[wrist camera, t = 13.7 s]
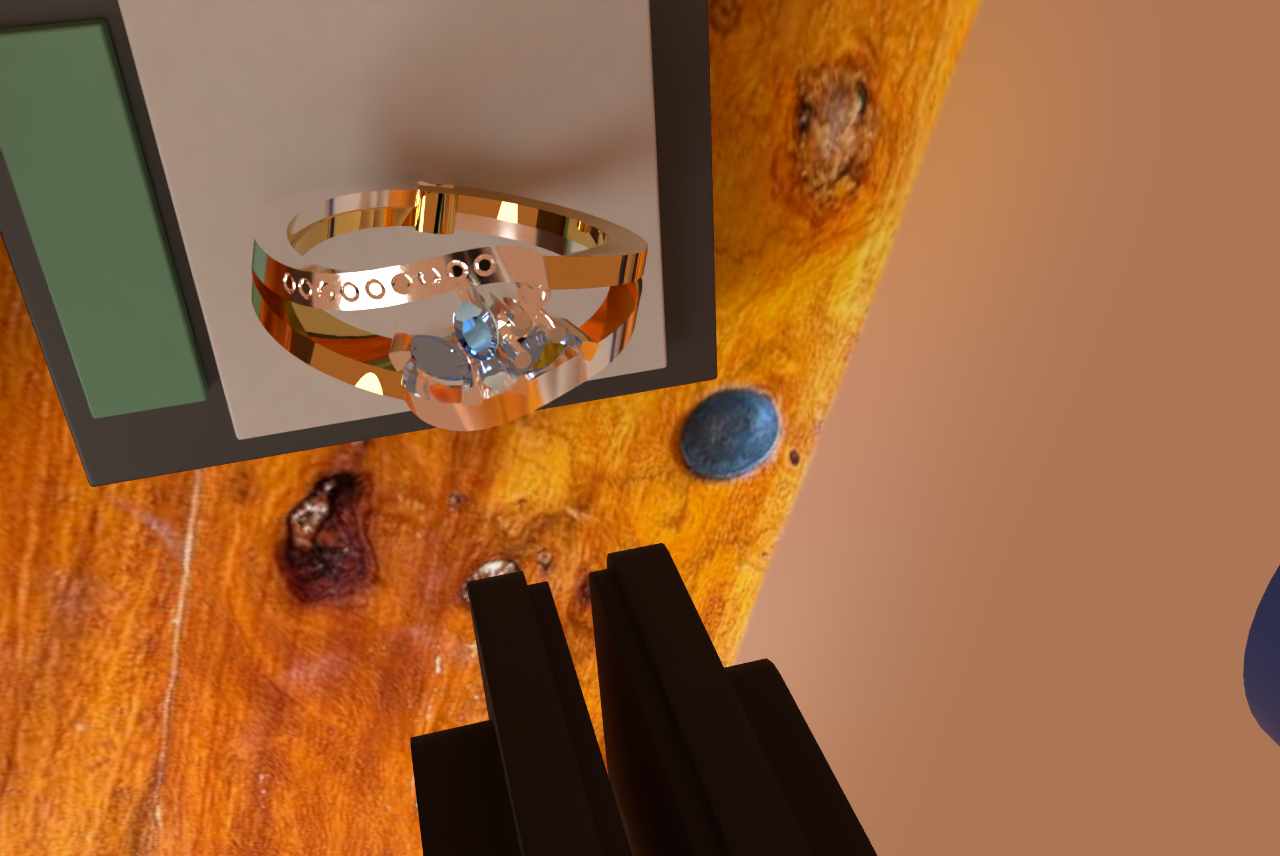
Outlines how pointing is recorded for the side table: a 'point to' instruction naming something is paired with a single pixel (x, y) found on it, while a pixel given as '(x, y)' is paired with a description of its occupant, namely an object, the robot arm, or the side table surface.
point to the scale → (317, 156)
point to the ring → (469, 339)
